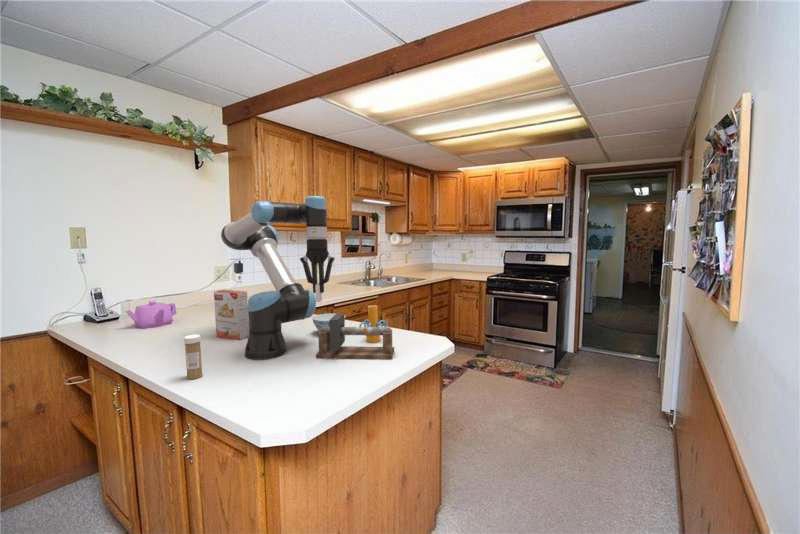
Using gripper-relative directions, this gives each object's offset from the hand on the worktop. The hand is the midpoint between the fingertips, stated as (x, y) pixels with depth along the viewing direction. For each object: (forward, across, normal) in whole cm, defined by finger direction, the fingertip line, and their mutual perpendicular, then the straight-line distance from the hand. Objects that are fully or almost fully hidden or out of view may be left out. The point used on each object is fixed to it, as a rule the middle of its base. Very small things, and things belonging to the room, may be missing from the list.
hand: (318, 301), depth 136 cm
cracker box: (+20, -46, +21) cm, 55 cm away
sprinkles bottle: (+21, -34, -24) cm, 46 cm away
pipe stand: (+20, +14, 0) cm, 24 cm away
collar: (+17, +7, 0) cm, 18 cm away
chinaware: (+20, -4, +29) cm, 36 cm away
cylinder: (+21, +18, +18) cm, 33 cm away
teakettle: (+20, -99, +41) cm, 109 cm away
